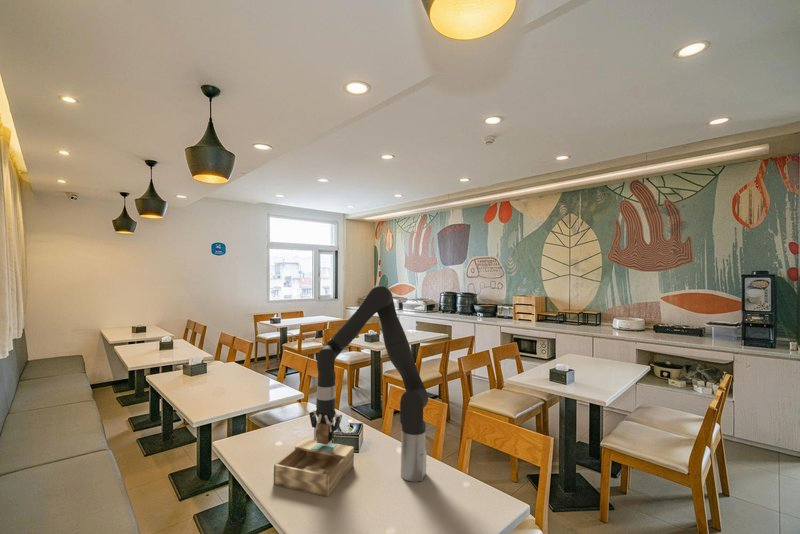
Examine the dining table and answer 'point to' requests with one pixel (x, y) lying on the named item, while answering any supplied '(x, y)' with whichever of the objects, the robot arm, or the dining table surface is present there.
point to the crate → (314, 467)
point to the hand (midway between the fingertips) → (324, 439)
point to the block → (323, 433)
